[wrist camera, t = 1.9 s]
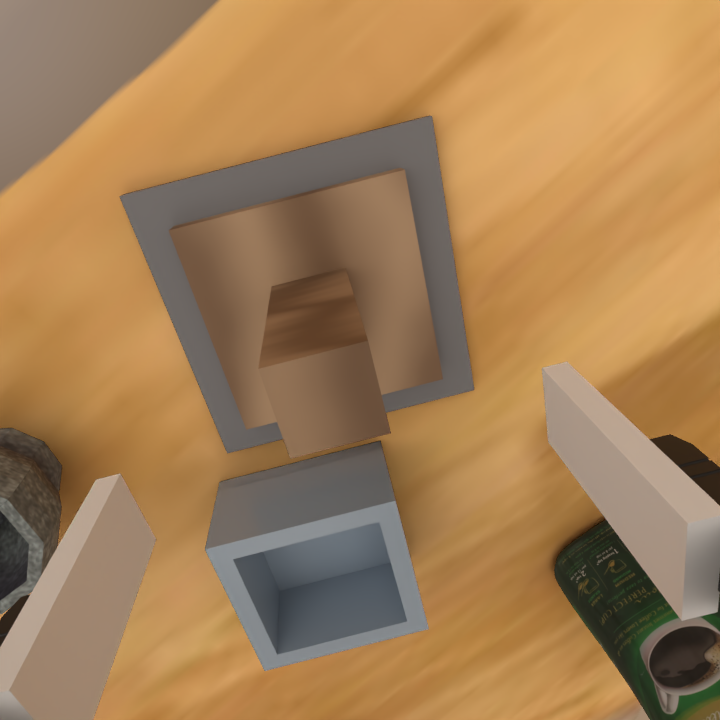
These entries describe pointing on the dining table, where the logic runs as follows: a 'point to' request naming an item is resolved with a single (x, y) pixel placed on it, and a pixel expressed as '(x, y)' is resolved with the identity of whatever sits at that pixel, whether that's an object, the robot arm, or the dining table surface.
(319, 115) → the dining table surface
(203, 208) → the mat
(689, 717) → the coffee jar
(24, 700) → the robot arm
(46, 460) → the mortar and pestle
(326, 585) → the blue-grey square box
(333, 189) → the lid
